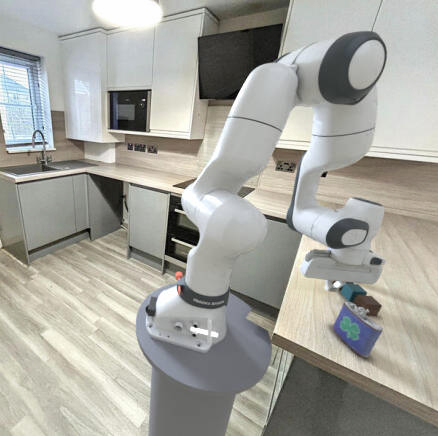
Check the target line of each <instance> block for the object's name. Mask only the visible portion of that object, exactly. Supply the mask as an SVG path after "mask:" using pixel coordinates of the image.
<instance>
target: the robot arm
mask: <svg viewBox="0 0 438 436" xmlns="http://www.w3.org/2000/svg"><path fill="white" fill-rule="evenodd" d="M387 59H388V50H387V46H386V43H385V41H384V40H383V38H382V37H381V36H380V34H379V33H377V32H376V31H373V30H372V31H371V30H360V31H352V32H348V33H345V34H343V35H341V36H338V37H332V38H329V39H326V40H320V41H316V42H312V43H310V44H309V43H308V44H307V45H304V46H302V47H300V48H297V49H296V50H294V51H289V52H287V53H284V54H282V55H280V56H279V57H278V58H277V59H275V60H273V62H267V63H263V64H261V65H258V66H257V67H255V68H254V69H252V71H251V72H250V73H249V75H248V76H247V78H246V80H245V81H244V83H243V85H242V87H241V88H240V90H239V92H238V93H237V96H236V98H235V99H234V102H233V104H232V106H231V108H230V111H229V112H228V114H227V118H226V119H225V124H224V126H223V128H222V131H221V133H220V135H219V138H218V140H217V143H216V146H215V149H214V151H213V152H212V155H211V156H210V158H209V160H208V162H207V164H206V165H205V167H204V168H203V169H202V171H201V172H200V174H199V175H198V177H197V178H196V179H195V180H194V181H193V182H192V183H190V184H189V185H188V186H186V188H185V189H184V190H183V192H182V194H181V199H180V203H181V207H182V210H183V212H184V214H185V216H186V217H187V218H188V220H189V221H190V222H192V224H193V225H195V226H196V227H197V229H198V232H199V240H198V243H197V245H196V246H193V247H192V248H191V249H190V250H189V251H188V253H187V260H186V268H185V274H183V272H182V271H176V272H175V280H176V283H177V286H174V287H172V288H169V289H167V290H164V291H162V292H161V293H160V295H159V297H151V298H150V302H149V304H148V305H147V306H146V308H145V310H146V313H147V316H146V329H147V332H148V334H149V336H150V337H152V338H155V339H158V340H161V341H164V342H168V343H171V344H175V345H178V346H181V347H185V348H188V349H191V350H195V351H198V352H201V353H207V352H208V351H209V350H210V349H211V347H212V346H213V345H215V344H217V343H219V342H220V341H222V340H223V339H224V337H225V336H226V333H227V326H226V318H225V312H226V306H227V303H228V301H229V296H230V293H231V286H230V283H231V278H232V275H233V274H232V273H233V271H234V266H235V264H236V262H237V259H238V258H239V257H240V256H241V255H245V254H249V253H250V252H253V251H254V250H256V249H257V248H258V247H260V245H261V244H262V243H263V242H264V240H265V237H266V235H267V232H268V221H267V218H266V216H265V215H264V214H263V213H262V211H260V209H258V208H257V206H255V205H254V204H253V203H252V202H251V201H250V200H248V199H246V198H243V197H242V196H240V195H238V193H239V192H240V191H241V189H242V187H243V186H245V184H246V183H247V182H248V181H249V180H251V179H252V178H254V177H256V176H259V175H261V174H263V172H264V171H265V170H266V168H267V167H268V164H269V162H270V160H271V158H272V155H273V154H274V151H275V150H276V147H277V145H278V143H279V141H280V139H281V136H282V134H283V132H284V130H285V127H286V125H287V122H288V121H289V117H290V115H291V112H292V111H293V109H294V108H296V107H303V108H309V107H310V108H311V109H312V110H313V120H312V125H311V127H312V128H311V139H310V143H309V146H308V149H307V150H306V151H305V152H304V153H303V154H302V155H301V157H300V159H299V161H298V165H297V169H296V173H295V174H296V175H295V179H294V185H293V191H292V196H291V200H290V205H289V207H288V209H287V212H286V215H285V216H286V217H285V220H286V225H287V227H288V228H289V229H290V230H291V231H294V232H296V233H298V234H301V235H304V236H306V237H307V238H309V239H311V240H313V241H315V242H317V243H319V244H321V245H323V246H325V247H326V249H317V248H313V249H311V250H309V251H306V253H305V256H304V259H303V261H302V262H301V264H300V267H299V271H300V273H301V274H302V275H303V276H304V277H305V278H307V279H315V280H324V283H325V284H324V290H325V291H326V292H332V293H338V291H339V290H338V289H339V288H341V287H342V286H343V285H345V284H346V282H352V283H354V284H363V285H369V286H370V285H374V284H376V283H377V282H378V281H379V279H380V277H381V275H382V272H383V266H384V265H385V264H386V262H387V260H386V259H385V258H384V257H383V256H381V255H380V254H378V253H377V252H375V251H373V250H372V249H371V248H372V242H373V239H375V237H376V236H377V235H378V233H379V230H380V228H381V226H382V222H383V220H384V215H385V206H384V205H383V204H381V203H379V202H376V201H374V200H369V199H366V198H362V197H357V196H353V197H350V198H349V199H348V200H347V202H346V203H345V205H344V206H341V207H340V208H336V209H332V208H329V207H326V206H324V205H321V204H320V203H319V202H318V201H317V199H316V197H317V193H318V189H319V184H320V181H321V177H322V175H323V174H324V173H325V172H331V171H336V170H339V169H342V168H346V167H350V166H351V165H354V164H356V163H357V162H359V161H360V160H362V159H363V158H364V157H365V156H366V155H367V154H368V153H369V152H370V150H371V147H372V146H373V145H372V144H373V142H374V139H375V138H374V137H375V132H376V125H377V117H378V87H377V83H378V82H379V80H380V78H381V77H382V75H383V72H384V70H385V67H386V64H387ZM333 281H336V282H335V283H334V284H332V282H333ZM150 327H151V328H150ZM199 346H200V347H199Z"/></svg>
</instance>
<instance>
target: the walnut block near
mask: <svg viewBox="0 0 438 436" xmlns="http://www.w3.org/2000/svg"><path fill="white" fill-rule="evenodd" d="M352 303H353V304H356V306H357V307H358V308H359V307H362V308H364V309H365V310H367V309H368V310H369V313H368V312H366V313H367V314H366V316H368V317H369V316H370V317H377V316H378V314H379V312H380V311H381V308H382V307H383V305H382V304H381V303H380V302H379V301H377V299H375V297H373V296H372V295H368V294H367V295H357V296H356V298H355V300H354V302H352Z"/></svg>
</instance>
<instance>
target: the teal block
mask: <svg viewBox="0 0 438 436" xmlns="http://www.w3.org/2000/svg"><path fill="white" fill-rule="evenodd" d="M340 294H341V295H342V296H343V298H344V299H345V300H347V302H351V303H353V302H354V300H355V298H356V296H357V295H367V296H368V291H367V290H365V289H364V288H363V287H362V286H361V285H360V284H359V283H354V284H350V283H346V284H345V285H344V286H343V288H342V290H340Z"/></svg>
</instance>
